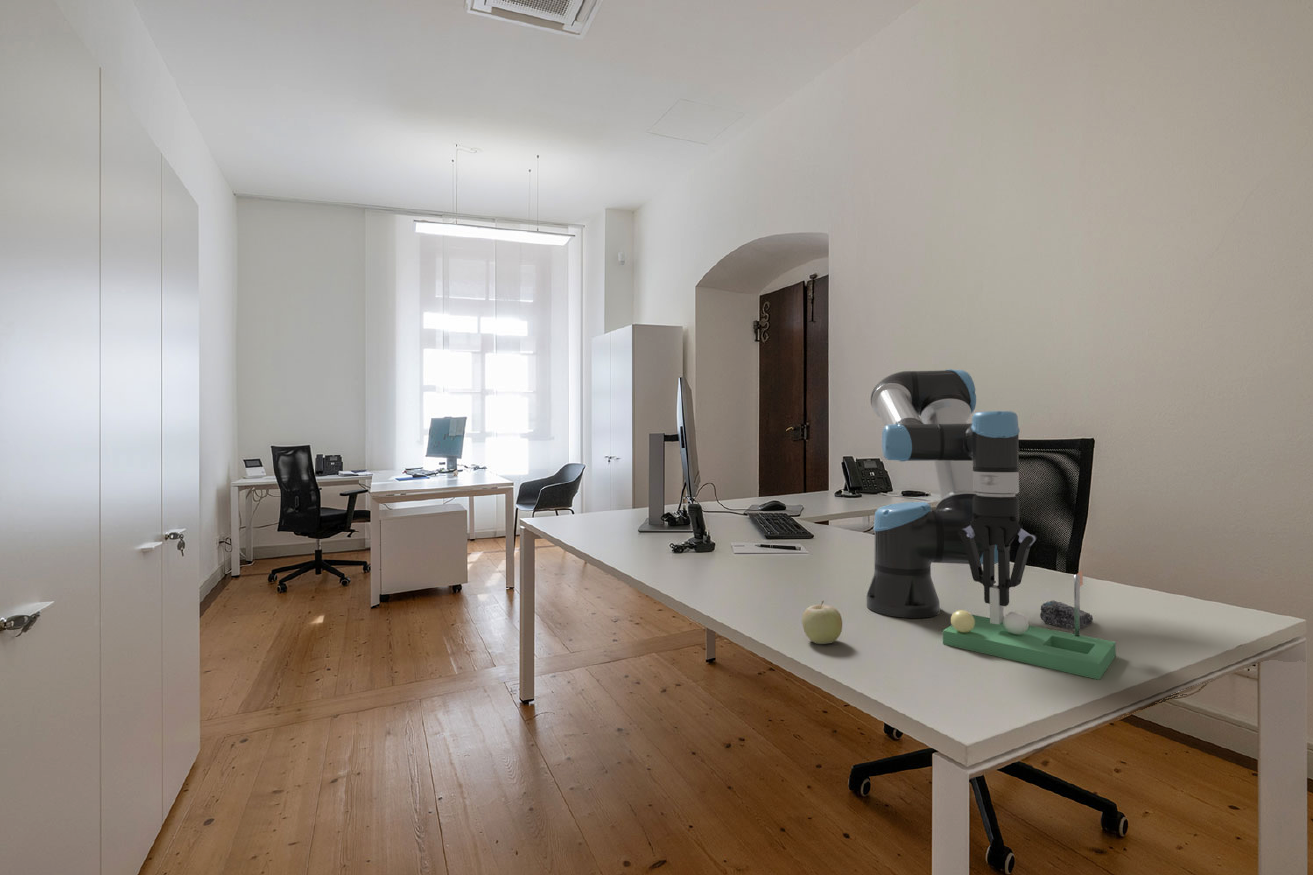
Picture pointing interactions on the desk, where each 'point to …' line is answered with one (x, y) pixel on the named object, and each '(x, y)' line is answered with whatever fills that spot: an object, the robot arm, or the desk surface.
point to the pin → (1077, 602)
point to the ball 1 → (962, 621)
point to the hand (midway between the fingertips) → (996, 622)
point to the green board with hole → (1037, 647)
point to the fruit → (822, 623)
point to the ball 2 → (1015, 623)
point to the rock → (1063, 615)
